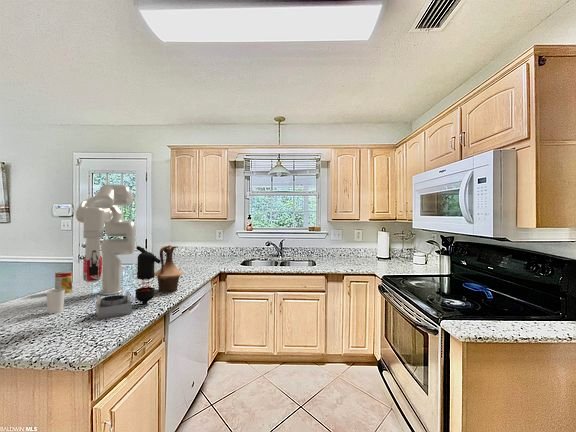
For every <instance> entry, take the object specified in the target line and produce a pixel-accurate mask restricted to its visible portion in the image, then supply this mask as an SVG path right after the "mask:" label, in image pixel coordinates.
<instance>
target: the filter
mask: <svg viewBox="0 0 576 432" xmlns="http://www.w3.org/2000/svg"><path fill="white" fill-rule="evenodd" d="M135 250H137V251H139V252H140V253H139V254H138V255H137V272H136V279H137V280H142V281H143V282H141V285H142V286H141V287H139V288H136V289H135V297H136V300H137V301H139V302H141V304H142V305H147V304H148V302H149V301H151V300H152V299H153V298H154V296H155V287H151V286H150V285H149V284H150V281H149V280H150V279H154V278H155V277H156V276H155V263H157V264H161V260H160V258H158V257H157V255H155V254H154V253H152V252H151V251H150V252H149V251H148V250H146V249H145V247H141V246H140V245H138V246H135ZM144 280H147V281H146V282H144ZM144 284H145V285H144Z"/></svg>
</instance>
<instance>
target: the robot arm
mask: <svg viewBox="0 0 576 432" xmlns="http://www.w3.org/2000/svg"><path fill="white" fill-rule="evenodd" d="M133 202H134V195H133V193H132V191H131V189H130V187H128V185H126V184H111V183H109V184H104V185H102V186H101V187H100V188H99V191H98V192H97V194H96V195H95V196H92V197H89V198H86V199H85V200H83V201H82V202H80V203H79V205H78V207H77V209H76V210H75V211H76V212H75V219H76V220H77V221H78V222H79V223H83V238H82V239H85V254H84V255H86V260H87V261H88V260H90V267H89V276H94V275H98V260H99V257H100V254H101V257H102V278H101V281H102V282H101V290H99V291H98V294H99V295H100V296H102V295H103V296H113V295H119V294H121V293H123V292H125V289H124V288H123V287H122V261H121V259H120V258H119V257H118V256H124V255H127V256H128V255H133V254H134V253H135V251H136V224H135V222H134V221H132V220H122V219H123V217H122V216H123V213H122V210H121V209H120V208H119V207H118V206H120V207H121V206H123V207H125V206H127V207H129V206H132V205H133ZM104 234H105V235H106V236H107V237H114V238H108V239H105V240H103V241H101V239H104ZM115 237H120V238H115ZM121 237H124V238H121ZM97 257H98V258H97ZM91 258H93V259H91Z"/></svg>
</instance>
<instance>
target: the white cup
mask: <svg viewBox="0 0 576 432" xmlns="http://www.w3.org/2000/svg"><path fill="white" fill-rule="evenodd" d="M64 293H65V289H55V288H53V289H48V290H46V309H47V310H46V313H47V314H48V313H49V314H50V315H51V314H52V313H55V314H58V313H59V312H60V313H63V311H64V307H65V304H64V303H65V294H64ZM49 314H48V315H49ZM52 315H53V314H52Z"/></svg>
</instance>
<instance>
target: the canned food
mask: <svg viewBox="0 0 576 432" xmlns="http://www.w3.org/2000/svg"><path fill="white" fill-rule="evenodd" d="M54 289H65V293H64V295H65V294H69V293H72V291H73V271H72V270H60V271H56V272H55V273H54Z"/></svg>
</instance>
